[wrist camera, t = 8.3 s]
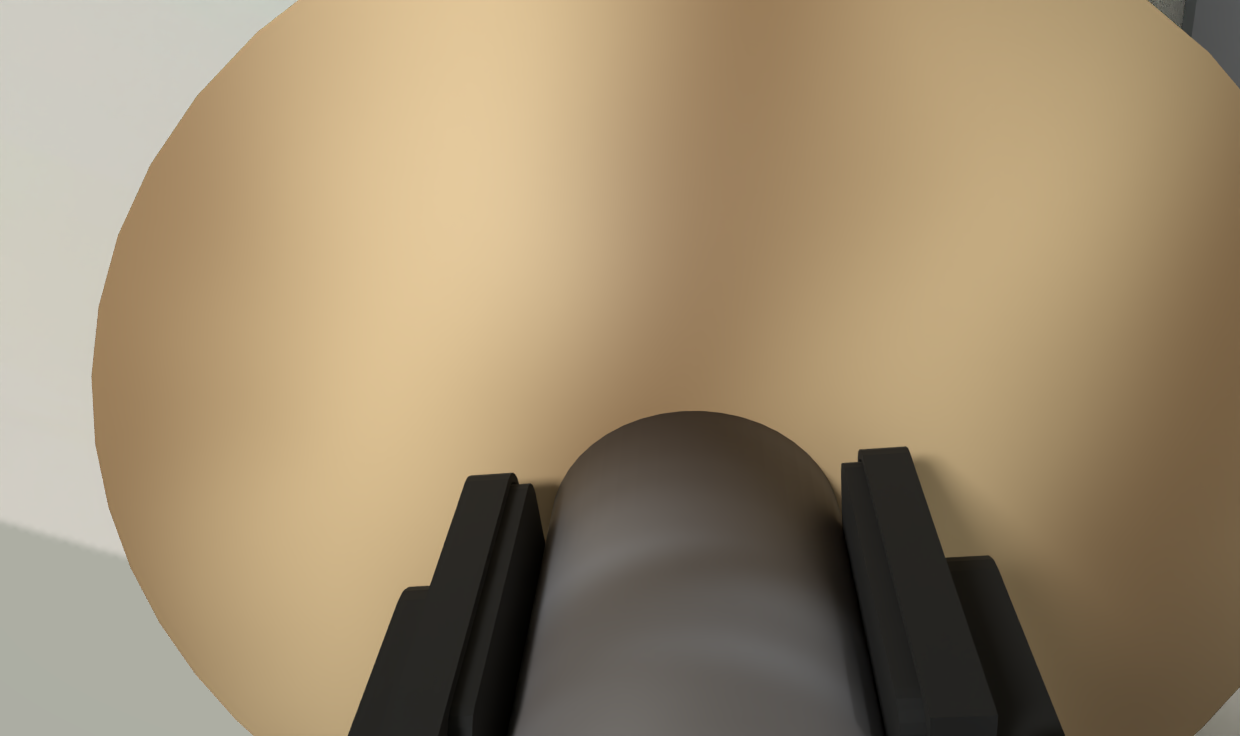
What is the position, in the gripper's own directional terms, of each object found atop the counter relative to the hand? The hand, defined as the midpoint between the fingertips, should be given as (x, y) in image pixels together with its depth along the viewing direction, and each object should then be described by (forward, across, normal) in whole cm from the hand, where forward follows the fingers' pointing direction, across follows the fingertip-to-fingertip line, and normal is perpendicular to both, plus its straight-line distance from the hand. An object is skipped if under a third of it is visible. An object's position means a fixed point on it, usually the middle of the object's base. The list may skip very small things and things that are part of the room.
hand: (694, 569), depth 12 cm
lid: (+2, 0, 0) cm, 2 cm away
